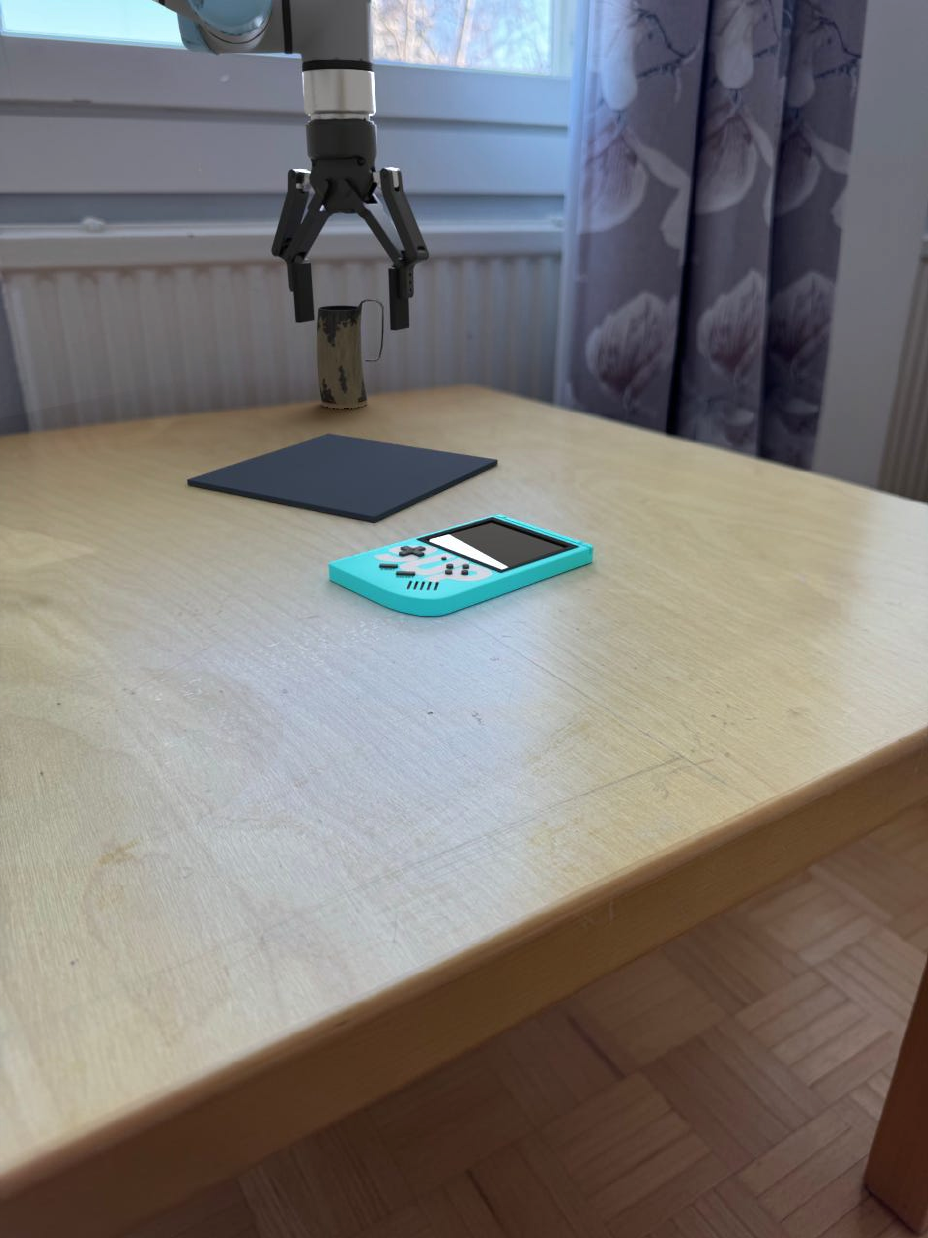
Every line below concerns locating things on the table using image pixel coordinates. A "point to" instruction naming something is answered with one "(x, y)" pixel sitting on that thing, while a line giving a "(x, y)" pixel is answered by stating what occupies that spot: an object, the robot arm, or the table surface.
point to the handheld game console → (459, 565)
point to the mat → (346, 476)
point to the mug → (341, 356)
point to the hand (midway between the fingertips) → (351, 325)
